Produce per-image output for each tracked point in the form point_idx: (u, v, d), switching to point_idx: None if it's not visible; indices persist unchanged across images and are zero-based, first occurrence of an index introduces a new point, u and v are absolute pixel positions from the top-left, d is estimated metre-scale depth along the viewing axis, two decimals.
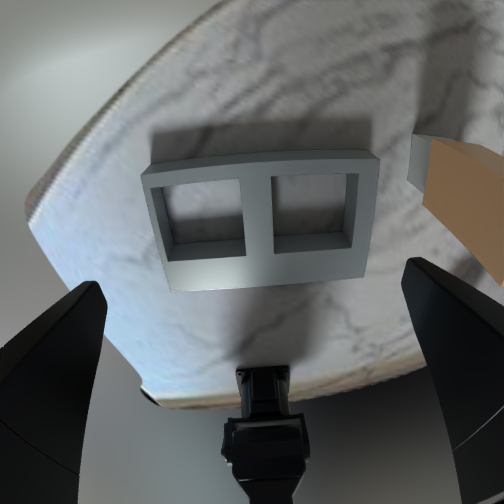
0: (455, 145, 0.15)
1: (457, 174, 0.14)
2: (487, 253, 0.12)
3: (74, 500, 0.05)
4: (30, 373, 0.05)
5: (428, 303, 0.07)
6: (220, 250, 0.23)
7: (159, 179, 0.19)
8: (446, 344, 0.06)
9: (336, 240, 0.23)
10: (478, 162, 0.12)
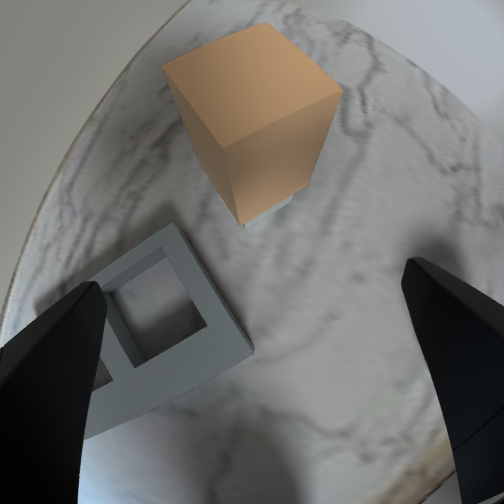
0: None
1: (201, 156, 0.16)
2: (217, 157, 0.11)
3: (74, 500, 0.05)
4: (30, 373, 0.05)
5: (428, 303, 0.07)
6: None
7: None
8: (446, 344, 0.06)
9: None
10: (185, 123, 0.14)
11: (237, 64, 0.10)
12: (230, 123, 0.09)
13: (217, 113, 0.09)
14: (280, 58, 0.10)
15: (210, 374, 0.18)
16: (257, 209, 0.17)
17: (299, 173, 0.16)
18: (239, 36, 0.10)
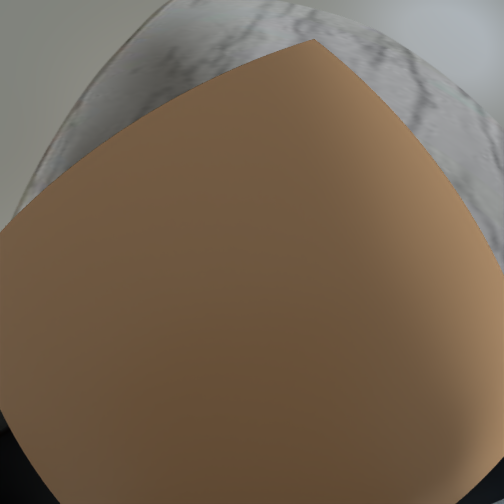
0: None
1: None
2: None
3: None
4: None
5: None
6: None
7: None
8: None
9: None
10: None
11: (187, 341, 0.02)
12: None
13: None
14: (404, 287, 0.02)
15: None
16: None
17: None
18: (199, 116, 0.02)
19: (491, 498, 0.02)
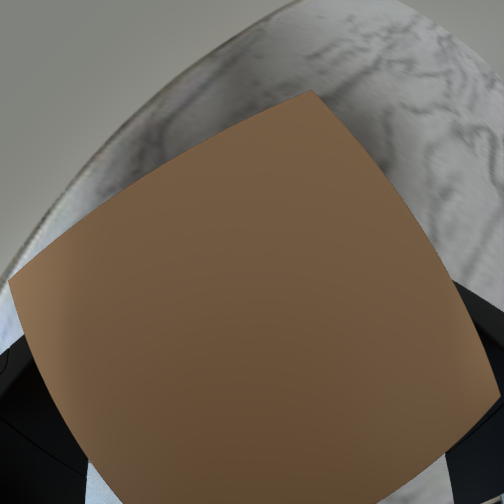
0: None
1: None
2: None
3: (82, 502, 0.05)
4: (38, 375, 0.05)
5: None
6: None
7: None
8: None
9: None
10: None
11: (210, 327, 0.03)
12: None
13: None
14: (367, 293, 0.03)
15: None
16: None
17: None
18: (219, 160, 0.03)
19: None
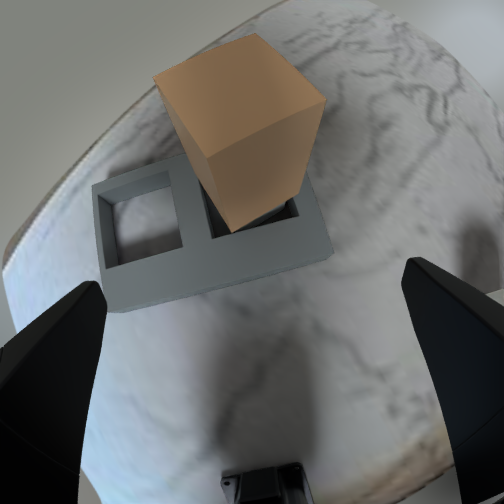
0: None
1: (193, 163, 0.16)
2: (204, 165, 0.11)
3: (74, 500, 0.05)
4: (31, 373, 0.05)
5: (428, 303, 0.07)
6: None
7: (105, 185, 0.21)
8: (446, 344, 0.06)
9: None
10: (178, 132, 0.15)
11: (224, 75, 0.10)
12: (214, 133, 0.10)
13: (203, 123, 0.10)
14: (266, 69, 0.10)
15: (289, 261, 0.19)
16: (248, 216, 0.18)
17: (288, 181, 0.16)
18: (228, 48, 0.11)
19: None
